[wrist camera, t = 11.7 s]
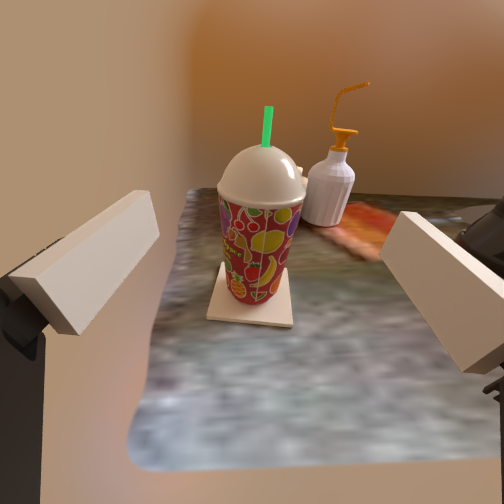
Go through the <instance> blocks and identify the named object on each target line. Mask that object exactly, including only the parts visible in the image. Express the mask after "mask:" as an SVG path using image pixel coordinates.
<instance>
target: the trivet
mask: <svg viewBox="0 0 504 504" xmlns="http://www.w3.org/2000/svg"><path fill="white" fill-rule="evenodd" d="M206 319H209V320H219V321H229V322H239V323H249V324H260V325H270V326H280V327H290V328H292V327H293V319H292V309H291V300H290V291H289V282H288V273H287V268H284V270H283V273H282V277H281V280H280V284H279V287H278V290H277V292H276V293H275V294H274V295H273V296H272V297H271V298H270V299H269V300H268V301H266V302H264V303H262V304H257V305H250V304H245V303H242V302H240V301H239V300H237V299H236V298H235V297H234V296H233V295H232V293H231V292H230V290H229V289H228V287H227V283H226V273H225V262H222V264H221V267H220V270H219V274H218V277H217V281H216V284H215V287H214V291H213V294H212V298H211V301H210V304H209V308H208V311H207V315H206Z"/></svg>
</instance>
